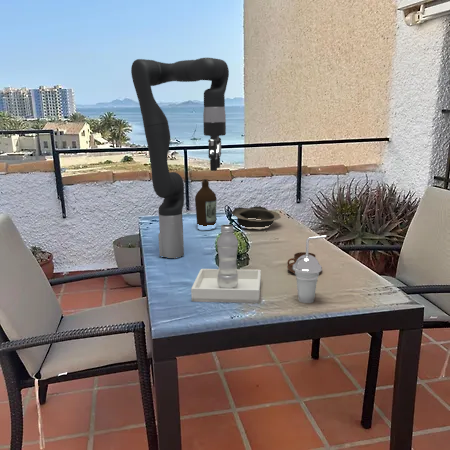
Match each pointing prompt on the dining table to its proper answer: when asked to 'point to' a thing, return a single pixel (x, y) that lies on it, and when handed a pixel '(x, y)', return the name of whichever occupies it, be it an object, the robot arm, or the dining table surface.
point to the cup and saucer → (296, 260)
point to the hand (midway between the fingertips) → (215, 169)
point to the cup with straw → (307, 274)
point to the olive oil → (205, 205)
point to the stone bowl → (255, 216)
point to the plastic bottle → (227, 258)
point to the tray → (242, 293)
